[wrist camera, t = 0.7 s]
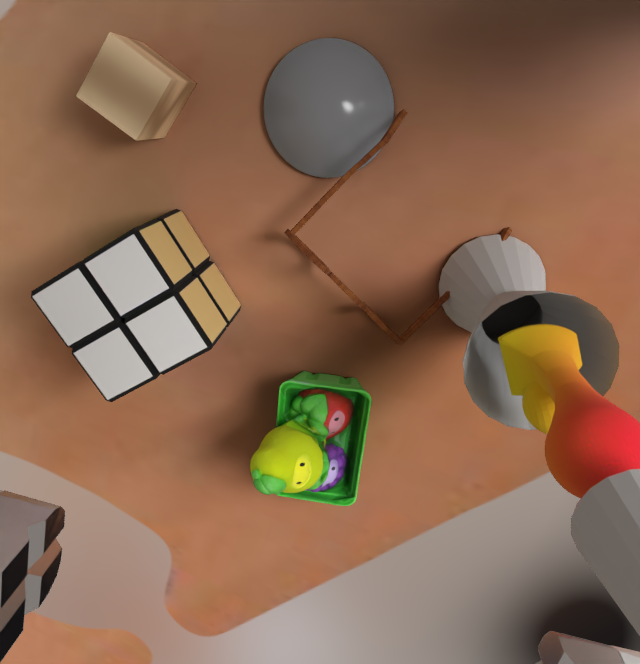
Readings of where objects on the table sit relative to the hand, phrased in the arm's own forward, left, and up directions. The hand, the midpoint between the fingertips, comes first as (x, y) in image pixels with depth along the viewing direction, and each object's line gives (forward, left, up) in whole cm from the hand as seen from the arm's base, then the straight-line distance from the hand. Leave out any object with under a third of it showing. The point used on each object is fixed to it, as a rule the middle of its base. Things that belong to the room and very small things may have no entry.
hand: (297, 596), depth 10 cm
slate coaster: (-5, -7, -41) cm, 42 cm away
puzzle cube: (+15, -10, -42) cm, 45 cm away
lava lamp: (-2, +12, -41) cm, 43 cm away
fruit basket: (+17, +8, -42) cm, 46 cm away
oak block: (+2, -19, -41) cm, 46 cm away
